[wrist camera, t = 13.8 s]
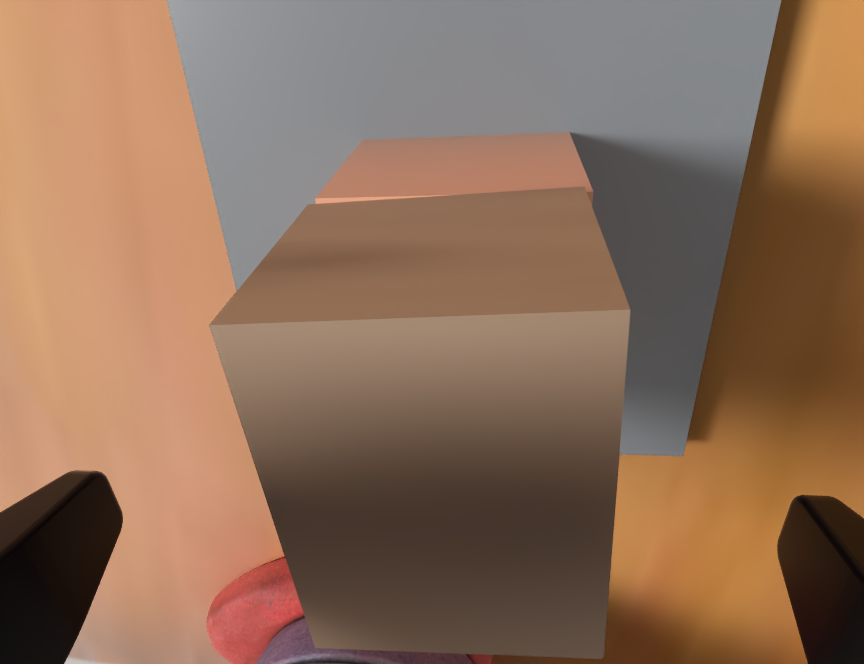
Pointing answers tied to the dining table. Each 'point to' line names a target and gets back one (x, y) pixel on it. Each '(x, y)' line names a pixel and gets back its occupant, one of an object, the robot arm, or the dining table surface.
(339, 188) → the terracotta brick
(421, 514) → the walnut brick
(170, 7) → the baseplate
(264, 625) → the stacking bear
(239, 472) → the dining table surface
